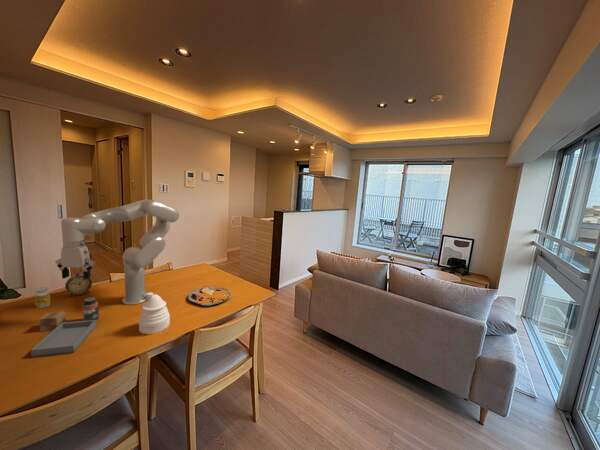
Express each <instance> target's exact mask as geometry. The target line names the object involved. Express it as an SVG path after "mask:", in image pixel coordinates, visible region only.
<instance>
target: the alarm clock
mask: <svg viewBox="0 0 600 450" xmlns="http://www.w3.org/2000/svg"><path fill="white" fill-rule="evenodd" d="M78 269H79V270H80V271H79V272H75V271H76V270H78ZM81 272H82V268H75V269H74V270H73V273H74V274H75V275H72V276H70V277H68V279H67V280H66V282H65V285H64V287H65V289H66V291H67V292H69V294H70V295H69V298H71V297H72V296H73V295H82V294H85V293H86V292H87V293H89V294H90V293H91V291H89V290H90V289H91V287H92V284H93V283H92V282H93V281H92V279H91V277H90V278H88V279H86V280H84V276H83V274H80V273H81Z"/></svg>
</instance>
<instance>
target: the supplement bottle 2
mask: <svg viewBox="0 0 600 450" xmlns="http://www.w3.org/2000/svg"><path fill="white" fill-rule="evenodd" d="M83 301H84V302H83V303H82V305H81V313H82V321H89V320H97V321H98V320H99V318H100V313H99V303H98V301H96V298H95V297H87V298H85V299H84V300H83Z"/></svg>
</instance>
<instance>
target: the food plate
mask: <svg viewBox="0 0 600 450" xmlns="http://www.w3.org/2000/svg"><path fill="white" fill-rule="evenodd" d="M211 289H216V290H215V291H221V289H222V290H225V291H227V292H228V293H229V296H228V297H227V298H226V299H225V300H224V299H223V300H224V301H221V300H219V301H220V302H219V301H218V303H216V302H214V303H213V302H210V303H211V304H210V303H208V304H207V303H206V302H205V303H206V304H205V303H204V304H203V303H201V304H200V303H197V302H195V301H196V300H199V301H203V300H204V299H206V298H205V297H206V295H204V294H208V295H209V294H210V295H212V293H213V292H214V290H211ZM219 289H220V290H219ZM199 293H203V294H201V295H199ZM228 293H225V294H224V295H223V296H225V295H226V294H228ZM231 296H232V293H231V291H229V290H228V289H227V288H223V287H218V286H206V285H205V286H203V287H200V288H198V289H194V290H192V291H191V292H189V293H188V295H187V299H188V301H189V302H192V303H194V304H197V305H201V306H212V305H216V304H221V303H224V302H225V301H227V300H228V299H230V298H231ZM207 299H210V300H212V301H214V300H213V299H215V298H213V299H212V297H211V298H207Z"/></svg>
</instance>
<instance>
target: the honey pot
mask: <svg viewBox="0 0 600 450" xmlns="http://www.w3.org/2000/svg"><path fill="white" fill-rule="evenodd" d="M147 296H148V299H147V300H146V301H145V303H144V304H142V306H141V309H142V311H141V313H140V317H139V319H138V330H139V331H140V332H141V333H148V334H149V333H155V332H159V331H162V330H164V329H165V328H167V327H168V326H169V327H170V325H171V319H170V312H169V310H168V307H167V302H166V301H165V300H163V298H162V297H161V296H160V295H158V294H154V292H150V293H149V292H148V293H147ZM169 324H170V325H169ZM169 327H168V328H169ZM168 328H167V329H168ZM139 331H138V332H139ZM140 332H139V333H140ZM141 333H140V334H141Z"/></svg>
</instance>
